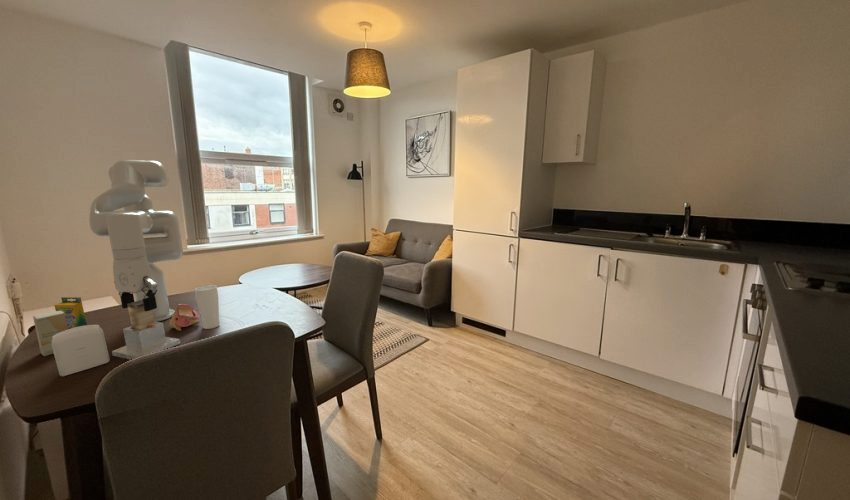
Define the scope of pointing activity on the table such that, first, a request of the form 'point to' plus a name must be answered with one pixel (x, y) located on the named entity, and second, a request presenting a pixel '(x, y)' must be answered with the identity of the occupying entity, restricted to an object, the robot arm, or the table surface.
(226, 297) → the table surface
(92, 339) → the photo printer
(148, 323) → the column
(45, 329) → the skincare box
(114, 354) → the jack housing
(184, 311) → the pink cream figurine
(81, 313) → the crayon box
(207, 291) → the drinking glass
